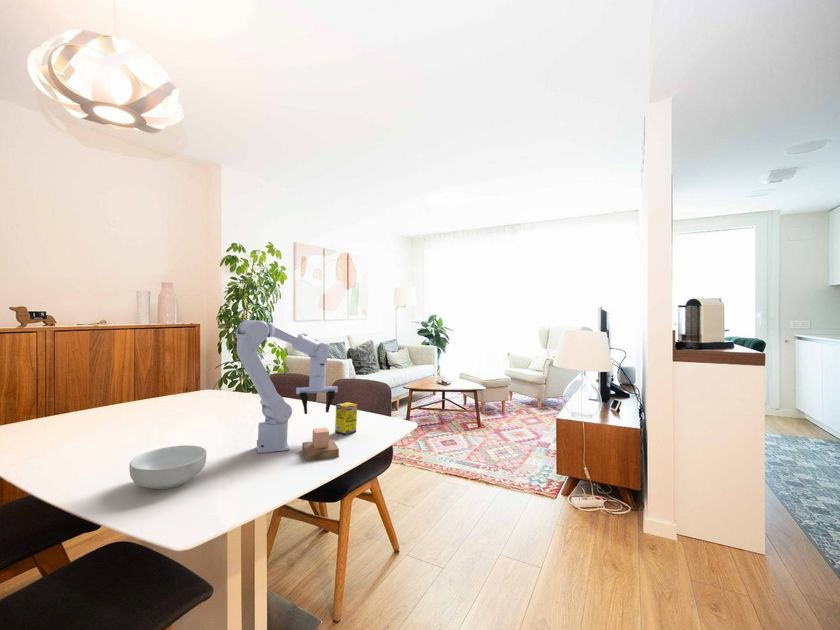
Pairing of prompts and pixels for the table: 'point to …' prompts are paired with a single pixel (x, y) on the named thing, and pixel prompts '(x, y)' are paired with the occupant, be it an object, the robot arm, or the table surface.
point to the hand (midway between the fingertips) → (316, 412)
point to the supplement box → (346, 418)
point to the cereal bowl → (167, 466)
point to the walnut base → (320, 451)
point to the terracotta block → (320, 438)
